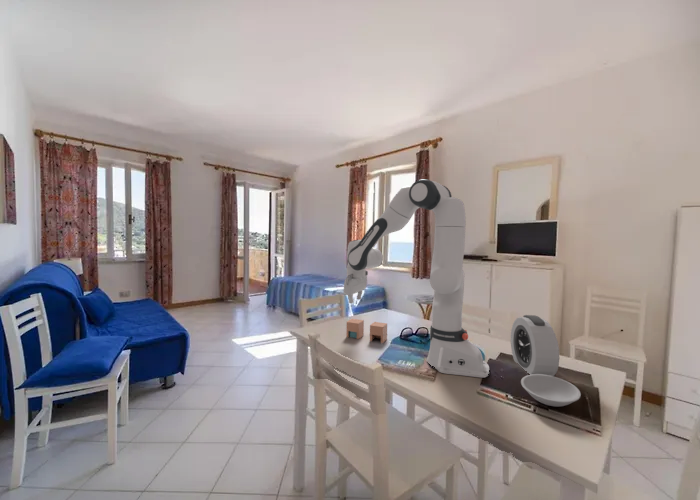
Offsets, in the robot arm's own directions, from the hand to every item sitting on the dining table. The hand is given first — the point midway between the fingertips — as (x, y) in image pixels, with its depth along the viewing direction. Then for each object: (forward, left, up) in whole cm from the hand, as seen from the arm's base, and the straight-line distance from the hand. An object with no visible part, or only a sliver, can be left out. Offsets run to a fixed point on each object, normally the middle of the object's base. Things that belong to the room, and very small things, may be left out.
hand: (355, 301), depth 142 cm
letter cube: (0, 0, -18) cm, 18 cm away
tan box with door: (0, 0, -17) cm, 17 cm away
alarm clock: (-74, +3, -18) cm, 76 cm away
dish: (-75, +28, -18) cm, 82 cm away
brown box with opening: (-12, 0, -17) cm, 21 cm away
